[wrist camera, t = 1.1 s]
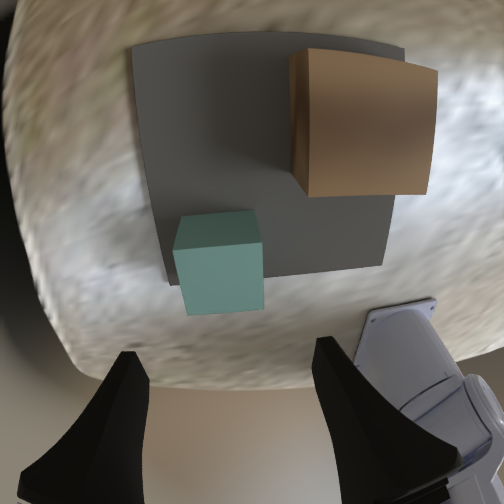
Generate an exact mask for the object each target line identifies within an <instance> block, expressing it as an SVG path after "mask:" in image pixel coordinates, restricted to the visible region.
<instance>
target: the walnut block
mask: <svg viewBox="0 0 504 504" xmlns="http://www.w3.org/2000/svg"><path fill="white" fill-rule="evenodd" d="M288 58H289V88H290V147H291V174H292V176H293V177H294V178H295V180H296V181H297V182H298V184H299V185H300V187H301V188H302V189H303V191H304V192H305V194H306V195H307V196H308V198H309V197H330V196H359V195H426V192H427V187H428V181H429V174H430V168H431V161H432V153H433V145H434V135H435V124H436V110H437V89H438V71H437V70H434V69H430V68H427V67H423V66H419V65H415V64H411V63H407V62H402V61H398V60H393V59H388V58H383V57H378V56H372V55H366V54H359V53H352V52H345V51H336V50H326V49H314V48H307V49H305V50H302V51H300V52H297V53H295V54H293V55H290V56H288Z"/></svg>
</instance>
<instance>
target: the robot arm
mask: <svg viewBox="0 0 504 504" xmlns="http://www.w3.org/2000/svg"><path fill="white" fill-rule="evenodd" d="M436 305H437V300H436V299H435V298H433V299H428V300H424V301H419V302H414V303H409V304H404V305H399V306H394V307H389V308H383V309H378V310H373V311H371V312H370V313H369V314H368V317H367V320H366V324H365V327H364V330H363V334H362V337H361V340H360V343H359V346H358V349H357V352H356V355H355V358H354V361H353V362H352V361H351V360H350V359H349V357H348V356H347V355H346V354H345V352H344V351H343V350H342V348H341V347H340V346H339V344H338V343H337V341H336V340H335V339H334V337H332V336H327V337H321V338H317V340H316V346H315V352H314V357H313V362H312V374H313V379H314V384H315V388H316V392H317V395H318V398H319V401H320V405H321V408H322V411H323V414H324V416H325V420H326V423H327V426H328V429H329V432H330V435H331V439H332V443H333V448H334V453H335V459H336V464H337V470H338V476H339V483H340V491H341V500H342V504H504V487H503V485H502V483H501V481H500V479H499V477H498V475H497V471H498V469H499V467H500V466H501V464H502V462H503V460H504V413H503V411H502V408H501V406H500V404H499V403H498V400H497V399H496V397H495V395H494V394H493V392H492V390H491V389H490V387H489V386H488V385H487V383H486V382H485V381H484V380H483V379H482V377H480V376H479V375H473V374H469V375H468V376H467V377H464V376H463V375H462V373H461V372H460V370H459V368H458V366H457V365H456V363H455V361H454V360H453V358H452V356H451V355H450V353H449V351H448V350H447V348H446V347H445V345H444V343H443V342H442V340H441V339H440V337H439V336H438V334H437V332H436V331H435V329H434V328H433V326H432V325H431V323H430V322H429V321H430V319H431V317H432V314H433V312H434V310H435V307H436ZM149 382H150V380H149V378H148V376H147V374H146V372H145V370H144V368H143V366H142V364H141V362H140V360H139V358H138V356H137V354H136V352H135V351H122V352H121V353H120V354H119V356H118V357H117V359H116V361H115V362H114V364H113V366H112V367H111V369H110V371H109V372H108V374H107V376H106V377H105V379H104V381H103V382H102V384H101V385H100V387H99V389H98V390H97V392H96V393H95V395H94V396H93V398H92V399H91V401H90V402H89V404H88V405H87V407H86V408H85V409H84V411H83V412H82V414H81V415H80V416H79V418H78V419H77V420H76V421H75V423H74V424H73V425H72V426H71V427H70V429H69V430H68V431H67V432H66V433H65V434H64V435H63V436H62V438H61V439H60V440H59V441H58V442H57V443H56V444H55V445H54V446H53V447H52V448H51V449H49V450H48V451H47V452H46V453H45V454H44V455H43V456H42V457H41V458H39V459H38V460H37V461H36V462H34V463H33V464H32V465H30V466H29V467H27V468H26V469H25V470H23V471H22V472H21V474H20V480H19V485H18V491H17V496H18V498H20V499H22V500H25V501H27V502H29V503H31V504H145V503H144V495H143V480H142V447H143V439H144V431H145V425H146V418H147V411H148V404H149ZM17 504H21V503H19V502H18V503H17Z"/></svg>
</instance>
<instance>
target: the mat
mask: <svg viewBox="0 0 504 504" xmlns="http://www.w3.org/2000/svg"><path fill="white" fill-rule="evenodd" d="M307 48H314V49H326V50H336V51H345V52H352V53H359V54H366V55H372V56H378V57H383V58H388V59H393V60H398V61H402V62H405V52H404V48H400V47H396V46H391V45H387V44H382V43H377V42H372V41H366V40H360V39H354V38H347V37H340V36H332V35H322V34H311V33H296V32H234V33H219V34H207V35H198V36H190V37H182V38H175V39H169V40H163V41H158V42H152V43H147V44H142V45H138V46H133V47H131V51H132V65H133V78H134V89H135V99H136V108H137V116H138V124H139V132H140V139H141V146H142V153H143V159H144V165H145V171H146V177H147V183H148V188H149V194H150V199H151V204H152V209H153V214H154V219H155V224H156V229H157V233H158V238H159V243H160V247H161V251H162V256H163V260H164V264H165V268H166V272H167V276H168V280H169V284H170V286H172V285H180V282H179V278H178V274H177V269H176V265H175V260H174V255H173V251H172V250H173V246H174V242H175V239H176V235H177V231H178V227H179V224H180V220H181V216H191V215H201V214H212V213H223V212H234V211H247V210H254V211H255V215H256V219H257V223H258V227H259V231H260V235H261V240H262V252H263V278H268V277H278V276H289V275H299V274H308V273H318V272H327V271H336V270H345V269H354V268H363V267H371V266H380V265H382V262H383V258H384V253H385V249H386V244H387V239H388V234H389V229H390V223H391V218H392V212H393V206H394V200H395V195H359V196H330V197H309V198H308V196H307V195H306V194H305V192H304V191H303V189H302V188H301V187H300V185H299V184H298V182H297V181H296V180H295V178H294V177H293V176H292V174H291V147H290V88H289V58H288V56H290V55H293V54H295V53H297V52H300V51H302V50H305V49H307Z"/></svg>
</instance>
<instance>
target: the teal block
mask: <svg viewBox="0 0 504 504" xmlns="http://www.w3.org/2000/svg"><path fill="white" fill-rule="evenodd" d="M172 251H173V255H174V260H175V265H176V269H177V274H178V278H179V282H180V287H181V291H182V295H183V299H184V303H185V307H186V311H187V315H203V314H217V313H229V312H241V311H252V310H262V309H264V287H263V252H262V240H261V235H260V231H259V227H258V223H257V219H256V215H255V211H254V210H247V211H234V212H223V213H212V214H201V215H191V216H181V220H180V224H179V227H178V231H177V235H176V239H175V242H174V246H173V250H172Z"/></svg>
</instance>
